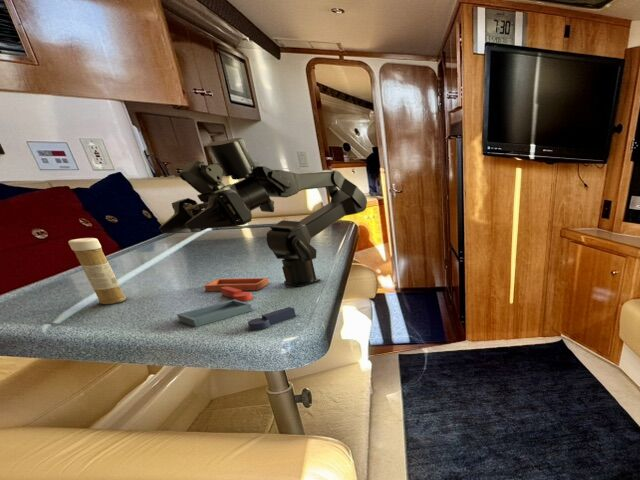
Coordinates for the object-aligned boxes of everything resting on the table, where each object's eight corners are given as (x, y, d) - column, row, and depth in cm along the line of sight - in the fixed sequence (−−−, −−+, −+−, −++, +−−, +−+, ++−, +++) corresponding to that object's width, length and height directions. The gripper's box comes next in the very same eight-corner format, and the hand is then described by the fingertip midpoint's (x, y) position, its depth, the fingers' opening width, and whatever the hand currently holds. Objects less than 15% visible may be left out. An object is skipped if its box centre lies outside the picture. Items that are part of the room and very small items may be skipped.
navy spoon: (288, 314, 83) (286, 305, 83) (299, 317, 82) (296, 308, 81) (245, 327, 77) (242, 319, 76) (256, 331, 75) (253, 322, 74)
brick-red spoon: (218, 296, 94) (215, 288, 93) (233, 292, 96) (230, 285, 95) (240, 302, 90) (237, 294, 89) (255, 298, 92) (253, 290, 92)
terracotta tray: (269, 283, 103) (267, 277, 103) (258, 290, 98) (257, 284, 97) (219, 284, 102) (217, 278, 102) (206, 291, 97) (203, 285, 96)
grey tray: (236, 305, 88) (234, 299, 87) (252, 310, 85) (250, 304, 85) (179, 320, 79) (176, 314, 79) (195, 326, 77) (193, 320, 76)
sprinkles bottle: (110, 298, 91) (79, 237, 85) (131, 298, 92) (103, 237, 85) (94, 305, 87) (60, 241, 81) (116, 304, 88) (85, 241, 81)
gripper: (187, 165, 84) (113, 190, 74) (241, 149, 76) (167, 176, 66) (223, 217, 91) (160, 247, 81) (276, 208, 83) (214, 240, 73)
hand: (173, 228), depth 75 cm, fingers open, 9 cm apart
